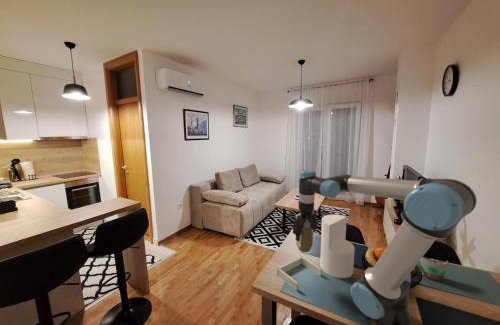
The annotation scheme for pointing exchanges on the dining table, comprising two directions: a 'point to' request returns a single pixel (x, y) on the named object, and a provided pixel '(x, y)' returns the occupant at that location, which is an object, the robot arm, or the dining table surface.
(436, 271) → the food container
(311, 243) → the squeeze bottle
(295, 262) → the cream u-shaped frame
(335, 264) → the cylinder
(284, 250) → the dining table surface
